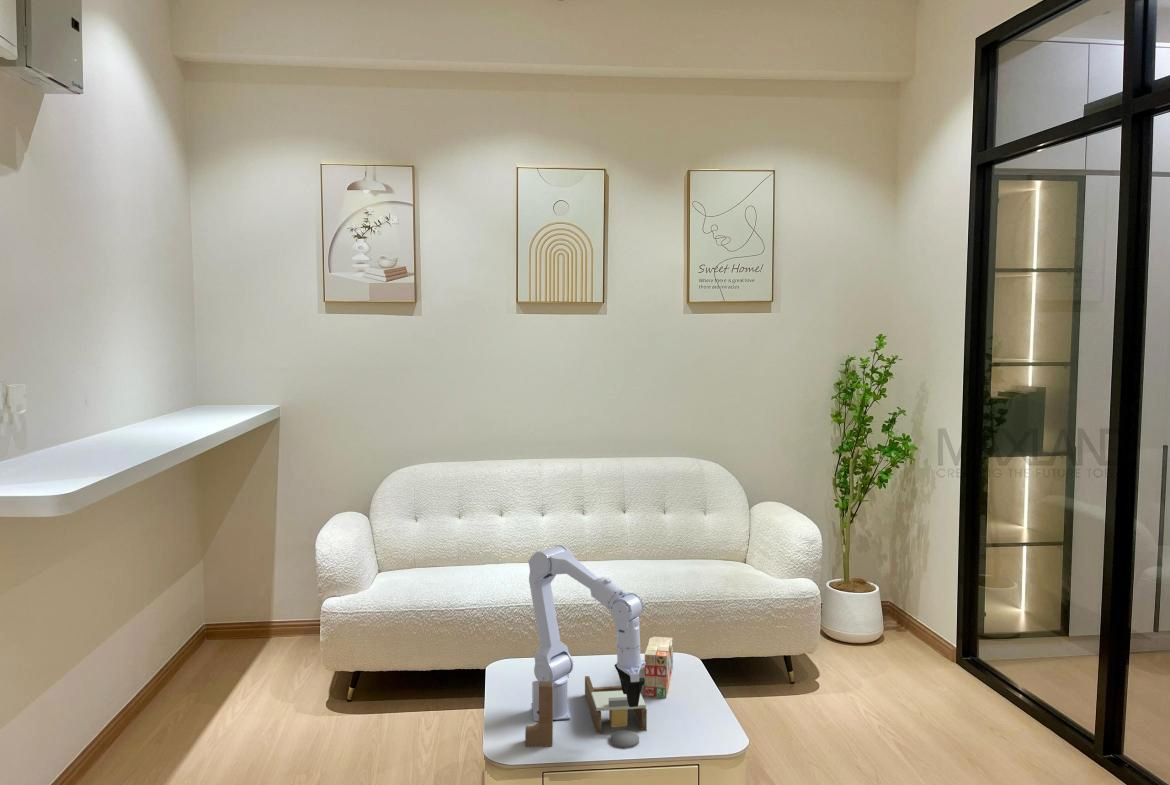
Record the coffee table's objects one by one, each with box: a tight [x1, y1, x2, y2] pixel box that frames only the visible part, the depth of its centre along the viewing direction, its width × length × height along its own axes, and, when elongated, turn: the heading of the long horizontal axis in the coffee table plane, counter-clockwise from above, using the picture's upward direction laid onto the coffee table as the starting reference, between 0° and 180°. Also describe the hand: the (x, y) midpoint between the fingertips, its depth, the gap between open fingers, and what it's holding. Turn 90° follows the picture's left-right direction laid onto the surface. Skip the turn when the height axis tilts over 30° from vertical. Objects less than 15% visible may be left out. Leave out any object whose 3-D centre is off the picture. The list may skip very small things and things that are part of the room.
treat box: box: [584, 675, 648, 734], centre depth 212 cm, size 13×22×5 cm, turn 8°
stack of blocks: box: [643, 636, 674, 699], centre depth 231 cm, size 21×6×12 cm, turn 169°
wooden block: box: [524, 681, 554, 747], centre depth 195 cm, size 7×3×15 cm, turn 91°
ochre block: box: [608, 709, 628, 728], centre depth 206 cm, size 4×4×5 cm
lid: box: [592, 690, 647, 712], centre depth 206 cm, size 13×9×2 cm
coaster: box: [610, 730, 640, 749], centre depth 197 cm, size 7×7×1 cm
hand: (630, 699), depth 196 cm, fingers open, 7 cm apart
